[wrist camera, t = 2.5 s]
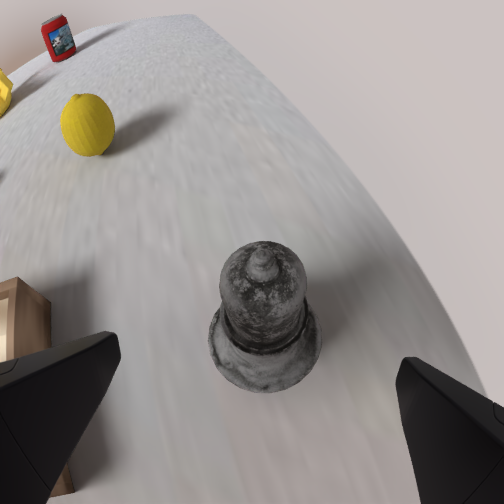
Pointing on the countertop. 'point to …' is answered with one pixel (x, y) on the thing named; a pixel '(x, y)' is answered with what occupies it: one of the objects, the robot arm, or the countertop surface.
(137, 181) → the countertop surface
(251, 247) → the grey stone tall piece
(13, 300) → the walnut box
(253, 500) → the countertop surface
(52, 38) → the beverage can
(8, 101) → the teapot
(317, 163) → the countertop surface
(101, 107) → the lemon
